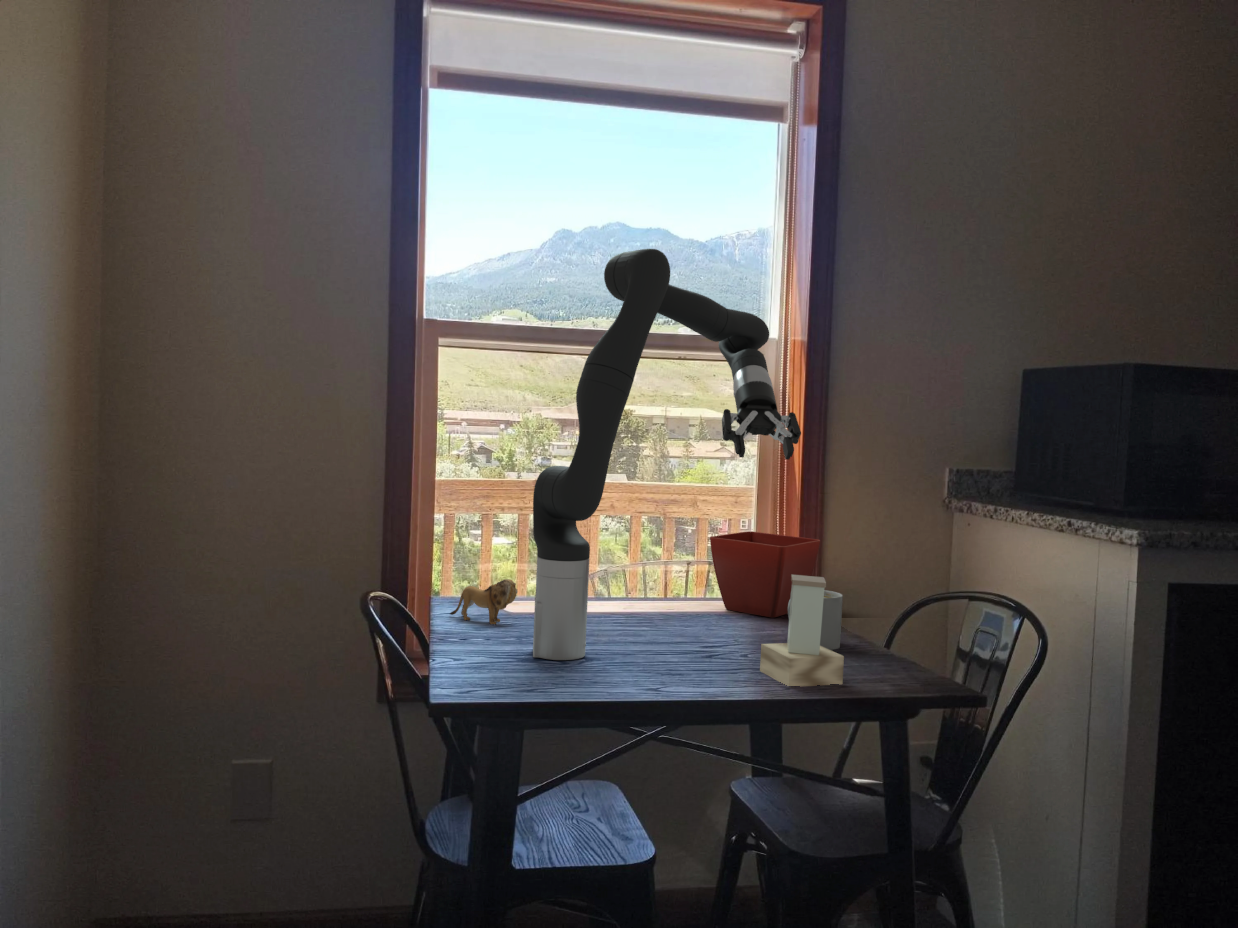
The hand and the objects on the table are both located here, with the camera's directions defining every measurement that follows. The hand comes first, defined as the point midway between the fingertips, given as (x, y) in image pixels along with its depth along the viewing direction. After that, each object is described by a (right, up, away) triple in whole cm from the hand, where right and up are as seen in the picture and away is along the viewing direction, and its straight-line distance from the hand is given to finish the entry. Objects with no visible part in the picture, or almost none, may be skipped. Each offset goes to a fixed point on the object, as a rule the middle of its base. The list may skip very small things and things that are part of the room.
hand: (765, 455), depth 171 cm
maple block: (+4, -38, -13) cm, 40 cm away
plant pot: (+6, -36, +46) cm, 58 cm away
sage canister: (+4, -33, -13) cm, 36 cm away
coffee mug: (+11, -37, +15) cm, 41 cm away
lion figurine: (-54, -34, +21) cm, 67 cm away
